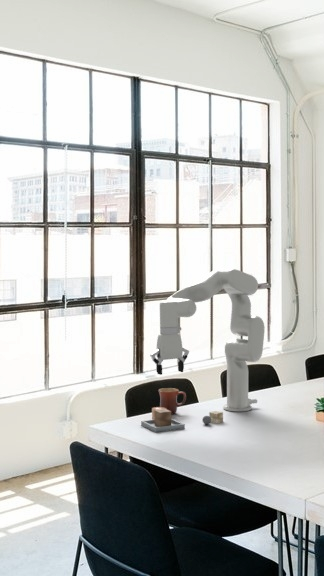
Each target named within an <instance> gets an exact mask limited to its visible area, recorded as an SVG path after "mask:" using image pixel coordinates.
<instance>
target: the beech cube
mask: <svg viewBox="0 0 324 576" xmlns="http://www.w3.org/2000/svg"><path fill="white" fill-rule="evenodd" d="M208 416H209V417H210V418H211V423H214V424H219V423H222V422H224V412H222V411H218V410H214V411H210V412H209V413H208Z"/></svg>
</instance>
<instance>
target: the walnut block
mask: <svg viewBox="0 0 324 576" xmlns="http://www.w3.org/2000/svg"><path fill="white" fill-rule="evenodd" d="M171 418H172V414H171V411H169V410H167V409H161V410H155V425H156V426H158V427H163V426H170V425H171Z"/></svg>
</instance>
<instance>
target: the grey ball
mask: <svg viewBox="0 0 324 576" xmlns="http://www.w3.org/2000/svg"><path fill="white" fill-rule="evenodd" d="M202 423H203V424H205V426H206V425H210V424H211V423H212V422H211V418H210V417H209V415H204V416H203V417H202Z"/></svg>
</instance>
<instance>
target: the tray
mask: <svg viewBox="0 0 324 576" xmlns="http://www.w3.org/2000/svg"><path fill="white" fill-rule="evenodd" d="M140 421H141V422H140V423H141V426H142V427H144V428H146V429H148V430H149V431H151V432H153V433H162V432H171V431H176V430H184V429H185V423H183V422H180V421H178V420H176V419H174V418H172V417H171V425H170V426H163V427H158V426H156V425H155V419H154V420H152V419H146V420H140Z"/></svg>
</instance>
